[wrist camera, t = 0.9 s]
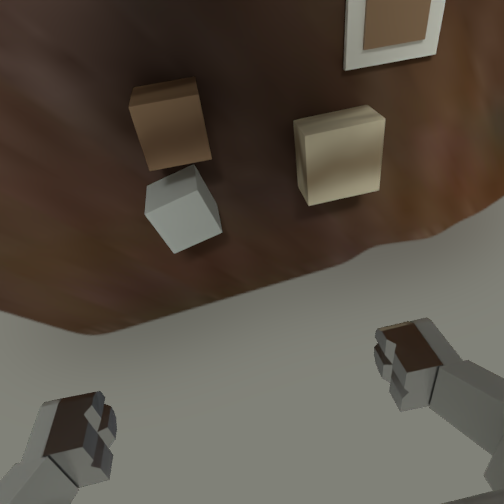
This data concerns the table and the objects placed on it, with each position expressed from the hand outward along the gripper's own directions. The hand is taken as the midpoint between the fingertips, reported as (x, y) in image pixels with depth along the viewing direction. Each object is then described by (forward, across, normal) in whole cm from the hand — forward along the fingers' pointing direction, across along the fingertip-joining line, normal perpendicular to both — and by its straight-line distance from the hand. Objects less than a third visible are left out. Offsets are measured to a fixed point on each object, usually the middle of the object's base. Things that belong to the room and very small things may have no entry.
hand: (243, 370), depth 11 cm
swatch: (+26, -17, -6) cm, 31 cm away
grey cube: (+27, +3, +7) cm, 28 cm away
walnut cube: (+26, +2, -1) cm, 26 cm away
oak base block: (+27, -12, +5) cm, 30 cm away
